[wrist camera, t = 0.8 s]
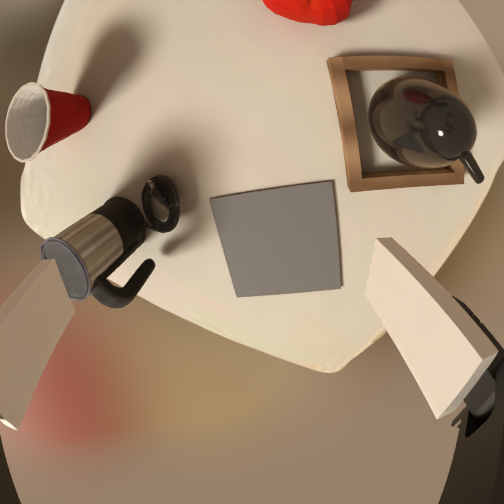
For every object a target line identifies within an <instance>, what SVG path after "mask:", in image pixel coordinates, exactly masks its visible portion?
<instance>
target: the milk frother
mask: <svg viewBox="0 0 504 504" xmlns="http://www.w3.org/2000/svg"><path fill="white" fill-rule="evenodd" d="M150 196H154V197H155V198H156V199H157V200H158V201H160V202H161V204H164V205H165V206H166V208H167V209H169V210H170V213H169V218H168V220H167V221H166V222H160V221H158V220H157V219H156V218H155V216H154V215H153V213H152V210H151V207H150ZM142 203H143V209H144V213H145V215H146V217H147V219H148V221H149V222H150V224H151V225H152V226H150V225H148V224H147V223H145V221H144V218H143V216H142V214H141V212H140V211H139V210H138V208H137V207H136V206H135V205H134V204H133V203H132V202H130V201H129V200H127V199H124V198H120V197H115V198H111V199H109V200H108V201H106V202H105V203H104V205H102V206H101V207H99V208H98V209H96V210H95V211H93V212H92V213H90V214H88V215H87V216H85V217H84V218H82V219H80V220H79V221H77V222H76V223H74V224H73V225H71V226H70V227H68V228H66V229H65V230H63V231H62V232H60V233H59V234H57V235H56V236H55V237H50V238H48V239H46V240H45V241H44V242H43V243H42V245H41V259H42V260H47V259H55V261H56V264H57V267H58V270H59V273H60V275H61V278H62V281H63V283H64V286H65V288H66V291H67V293H68V296H69V298H70V299H73V300H75V301H82V300H85V299H86V298H87V297H88V296H89V294H91V295H92V296H94V297H95V298H96V299H97V300H98V301H99V302H101V303H102V304H104V305H105V306H107V307H111V308H122V307H124V306H126V305H128V304H129V303H130V302H131V301H132V300H133V299H134V298H135V296H136V295H137V293H138V292H139V291H140V289H141V288H142V286H143V285H144V283H145V282H146V280H147V279H148V277H149V276H150V274H151V273H152V271H153V270H154V268H155V263H154V261H153V260H152V259H147V260H145V261H144V262H143V263H142V264H141V265H140V267H139V268H138V269H137V270H136V272H135V273H134V274H133V275H132V277H131V278H130V279H129V281H128V282H127V283H126V285H125V286H124V287H122V288H119V287H115V286H113V285H112V284H111V283H110V282H109V281H108V280H107V279H106V278H107V277H108V276H109V275H111V274H112V273H113V272H114V271H115V270H116V269H117V268H118V267H119V266H120V265H121V264H122V263H123V262H124V261H125V260H126V259H127V258H128V257H129V256H130V255H131V254H132V253H133V252H135V250H136V249H137V248H138V247H139V246H140V245H141V244H142V243H143V241H144V239H145V235H146V227H148V228H150V229H153V230H155V231H157V232H161V233H165V232H170V231H172V230H173V229H174V228H175V227H176V225H177V223H178V220H179V215H180V205H179V197H178V193H177V190H176V188H175V186H174V184H173V183H172V182H171V181H170V180H169V179H168V178H167V177H165V176H161V175H159V176H155V177H153V178H151V179H149V180H148V182H147V183H146V185H145V187H144V189H143V192H142Z"/></svg>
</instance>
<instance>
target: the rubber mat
mask: <svg viewBox="0 0 504 504" xmlns="http://www.w3.org/2000/svg"><path fill="white" fill-rule="evenodd" d="M209 200H210V204H211V208H212V211H213V215H214V219H215V222H216V226H217V230H218V233H219V237H220V240H221V244H222V248H223V251H224V255H225V258H226V262H227V265H228V269H229V272H230V276H231V279H232V282H233V286H234V289H235V293H236V296H237V297H250V296H264V295H277V294H289V293H301V292H312V291H323V290H333V289H341V280H340V262H339V248H338V235H337V224H336V213H335V204H334V195H333V187H332V181H326V182H317V183H309V184H301V185H294V186H286V187H279V188H272V189H266V190H259V191H253V192H247V193H240V194H234V195H229V196H223V197H217V198H212V199H209Z"/></svg>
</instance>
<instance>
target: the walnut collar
mask: <svg viewBox="0 0 504 504" xmlns="http://www.w3.org/2000/svg"><path fill="white" fill-rule="evenodd" d="M327 65H328V70H329V74H330V78H331V83H332V88H333V93H334V98H335V103H336V108H337V114H338V119H339V125H340V131H341V137H342V144H343V151H344V158H345V166H346V174H347V183H348V188H349V190H350V191H351V192H359V191H370V190H381V189H392V188H405V187H419V186H435V185H454V184H464V166H463V165H462V163H461V162H460V161H458V162H456V163H454V164H452V165H450V166H447V169H424V170H405V171H390V172H377V173H366V174H362V173H361V163H360V155H359V147H358V139H357V132H356V126H355V120H354V114H353V108H352V102H351V97H350V92H349V87H348V82H347V77H346V73H345V72H348V71H371V70H400V71H422V72H435V73H436V74H437V79H438V84H440V85H442V86H444V87H446V88H448V89H449V90H451V91H452V92H454V93H455V94H456V95H457V96H459V95H458V89H457V83H456V78H455V72H454V68H453V63H452V61H450V60H443V59H434V58H424V57H410V56H346V57H332V58H328V60H327Z"/></svg>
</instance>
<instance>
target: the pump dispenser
mask: <svg viewBox="0 0 504 504" xmlns="http://www.w3.org/2000/svg"><path fill="white" fill-rule="evenodd" d="M368 119H369V126H370V130H371V133H372V135H373V137H374V139H375V141H376V143H377V144H378V146H379V147H380V148H381V150H382V151H383V152H384V153H385V154H387V155H388V156H389V157H391V158H392V159H394V160H395V161H397V162H399V163H402V164H404V165H408V166H412V167H417V168H425V169H434V168H442V167H446V166H450V165H452V164H454V163H456V162H458V161H460V162H461V163H462V165H463V166H464V167H465V169H466V170H467V171H468V173H469V174H470V175H471V177H472V178H473V180H474V181H475V183H477V184H480V183H482V182H483V181H484V175H483V173H482V171H481V170H480V168H479V166H478V164H477V162H476V160H475V159H474V157H473V155H472V153H471V149H472V147H473V146H474V143H475V141H476V137H477V128H476V123H475V119H474V117H473V115H472V113H471V111H470V109H469V108H468V106H467V105H466V104H465V102H464V101H463V100H462V99H461V98H460V97H459V96H457V95H456V94H455V93H454V92H452V91H451V90H449V89H448V88H446V87H444V86H442V85H440V84H438V83H436V82H433V81H431V80H428V79H424V78H419V77H408V76H406V77H397V78H394V79H391V80H389V81H387V82H385V83H384V84H382V85H381V86H380V87H379V88H378V89H377V90H376V92H375V93H374V95H373V97H372V99H371V102H370V105H369V111H368Z"/></svg>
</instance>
